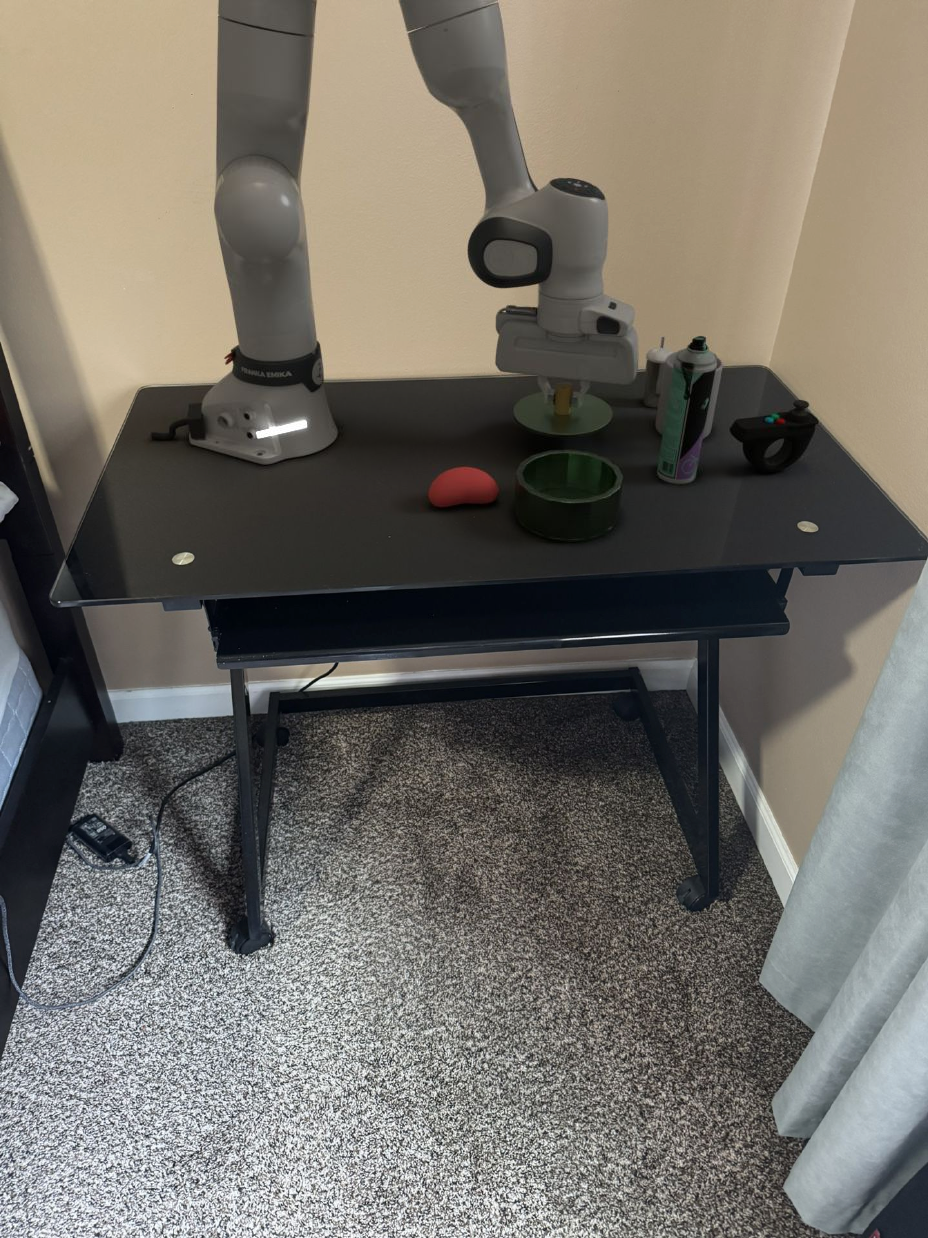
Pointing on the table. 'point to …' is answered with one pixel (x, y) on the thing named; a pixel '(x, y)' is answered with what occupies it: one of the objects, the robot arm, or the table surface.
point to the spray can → (686, 412)
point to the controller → (776, 436)
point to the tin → (568, 495)
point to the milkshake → (655, 374)
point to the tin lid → (562, 414)
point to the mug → (666, 388)
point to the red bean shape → (462, 487)
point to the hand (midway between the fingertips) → (563, 404)
